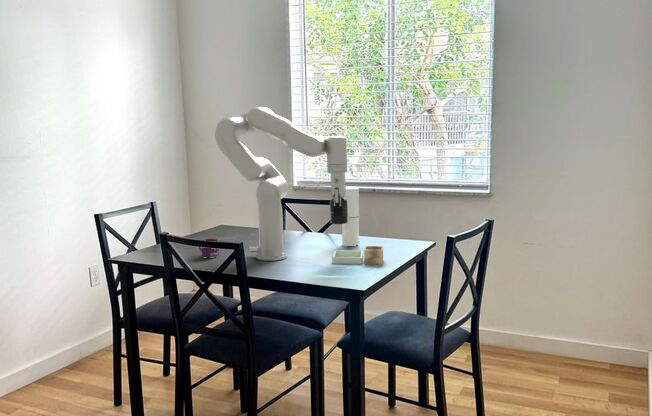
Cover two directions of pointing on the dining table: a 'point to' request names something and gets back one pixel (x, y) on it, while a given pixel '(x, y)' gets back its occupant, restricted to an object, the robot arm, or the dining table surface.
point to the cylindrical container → (351, 218)
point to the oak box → (373, 255)
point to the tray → (347, 257)
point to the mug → (209, 250)
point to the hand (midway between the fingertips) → (339, 214)
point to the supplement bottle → (344, 212)
